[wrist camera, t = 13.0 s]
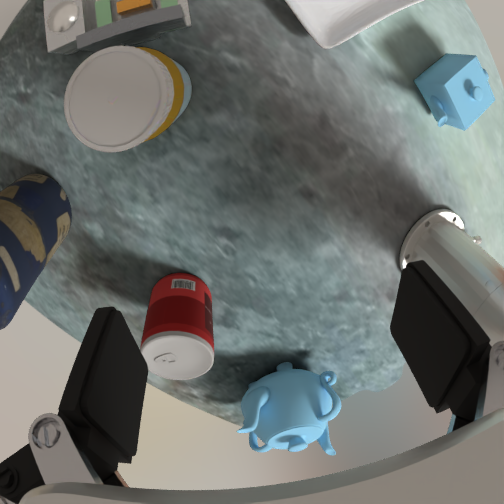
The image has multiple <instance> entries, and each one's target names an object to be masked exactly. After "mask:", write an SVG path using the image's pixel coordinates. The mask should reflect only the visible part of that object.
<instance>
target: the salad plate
mask: <svg viewBox="0 0 504 504" xmlns="http://www.w3.org/2000/svg"><path fill="white" fill-rule="evenodd" d="M421 1H424V0H285V2H286V3H287V4H288V6H289V7H290V9H291V10H292V11H293V13H294V14H295V15H296V17H297V18H298V20H299V21H300V22H301V24H302V25H303V26H304V28H305V29H306V30H307V32H308V33H309V34H310V36H311V37H312V38H313V39H314V40H315V42H316V43H317V44H318V45H319V46H321V47H322V48H324V49H329V48H333V47H335V46H337V45H339V44H341V43H343V42H345V41H347V40H348V39H350V38H352V37H354V36H355V35H357V34H358V33H360V32H362V31H364V30H365V29H367V28H369V27H370V26H372V25H374V24H376V23H377V22H379V21H381V20H383V19H384V18H386V17H388V16H390V15H392V14H394V13H396V12H398V11H400V10H402V9H405V8H407V7H409V6H411V5H414V4H416V3H419V2H421Z"/></svg>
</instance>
